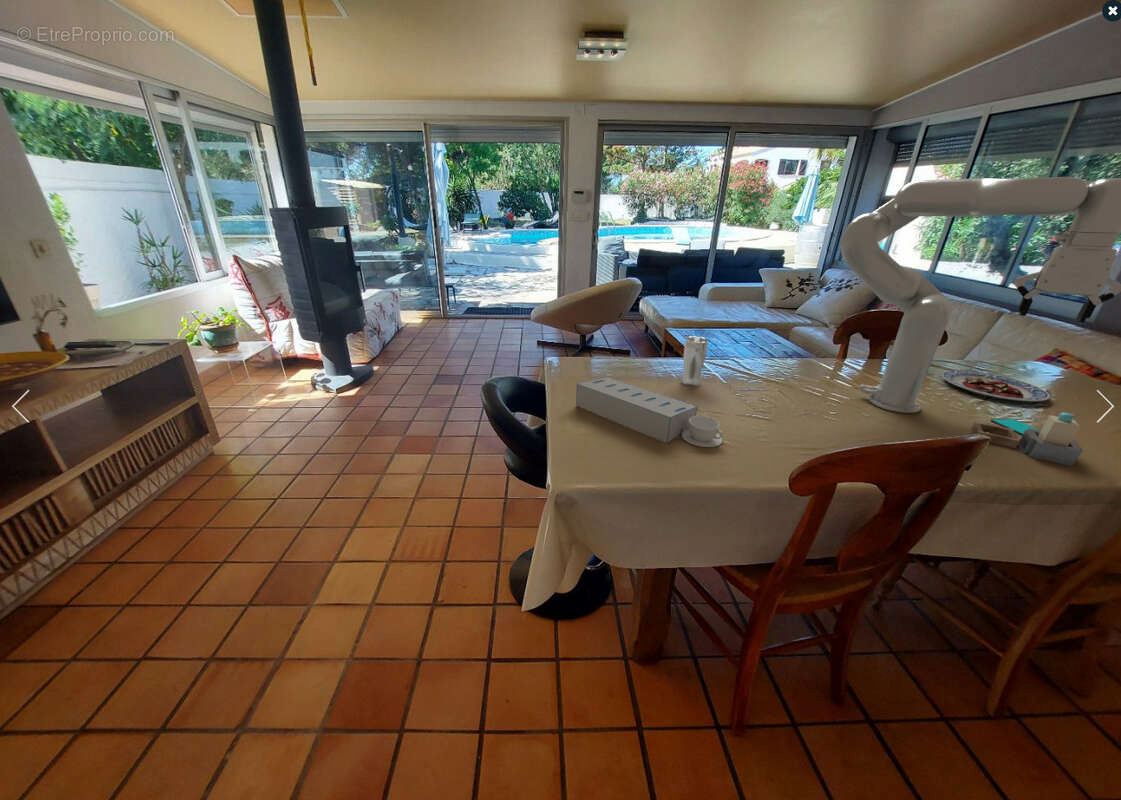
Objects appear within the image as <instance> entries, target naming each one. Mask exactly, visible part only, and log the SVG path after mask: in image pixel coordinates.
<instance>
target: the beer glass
mask: <svg viewBox="0 0 1121 800" xmlns="http://www.w3.org/2000/svg"><path fill="white" fill-rule="evenodd" d="M685 340H686V341H685V344H684V348H683V349H684V350H683V375H682V376H681V377H682V378H681V380H680V382H681V384H683V385H685V386H687V387H688V386H689V387H698V386H700V385H701V373H702V369H703V366H704V363H705V360H706V357H707V351H708V342H709V340H708V339H707V338H705V337H702V336H688V337H687V338H686V339H685Z"/></svg>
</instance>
